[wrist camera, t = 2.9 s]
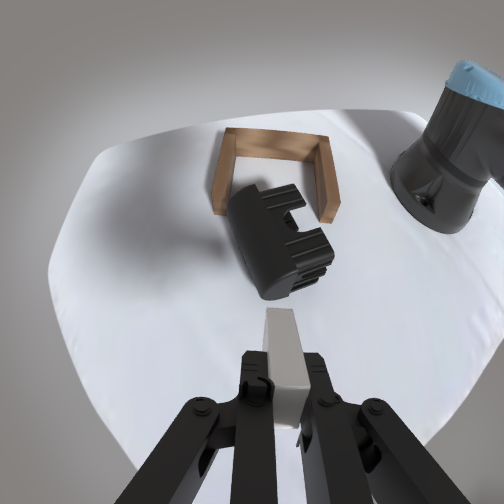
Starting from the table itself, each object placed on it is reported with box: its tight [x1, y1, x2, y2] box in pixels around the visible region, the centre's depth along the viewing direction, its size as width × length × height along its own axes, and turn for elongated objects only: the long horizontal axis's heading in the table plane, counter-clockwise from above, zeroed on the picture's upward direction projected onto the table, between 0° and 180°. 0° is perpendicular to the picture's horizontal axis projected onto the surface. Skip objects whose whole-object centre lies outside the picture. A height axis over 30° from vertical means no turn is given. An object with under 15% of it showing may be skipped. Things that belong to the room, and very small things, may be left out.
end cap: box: [226, 184, 335, 301], centre depth 27 cm, size 10×7×7 cm
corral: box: [212, 128, 341, 224], centre depth 34 cm, size 14×12×4 cm
